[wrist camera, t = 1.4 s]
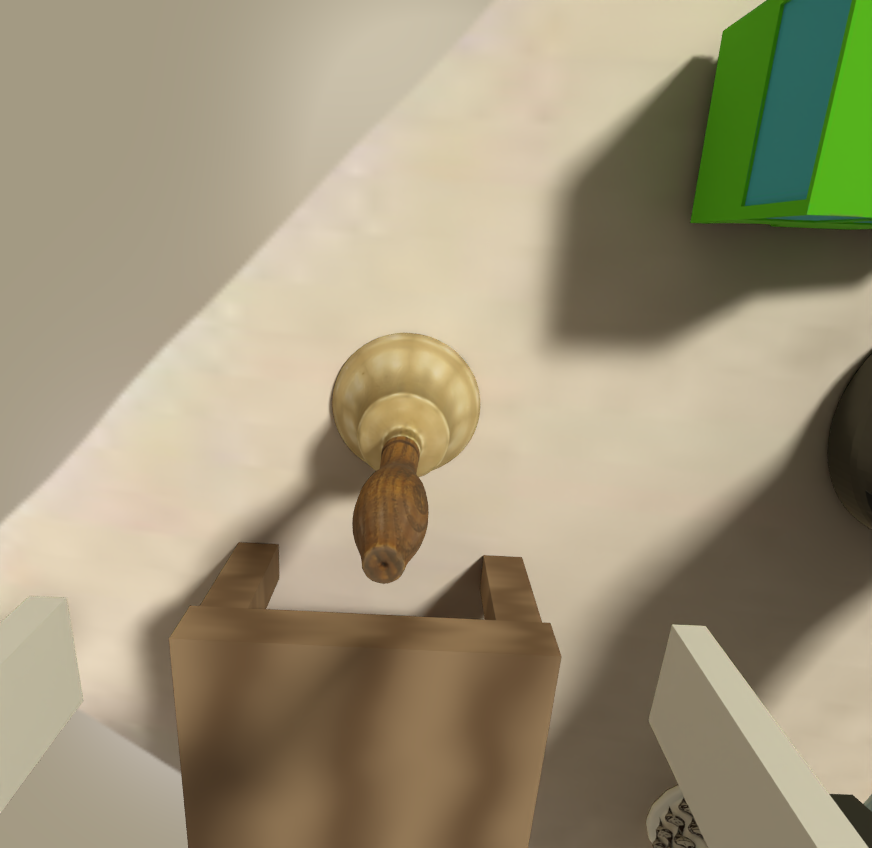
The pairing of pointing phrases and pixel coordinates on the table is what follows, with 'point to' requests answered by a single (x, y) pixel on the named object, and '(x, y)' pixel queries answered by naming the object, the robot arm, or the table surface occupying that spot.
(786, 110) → the toy car
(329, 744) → the walnut stool
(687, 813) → the decorative candle
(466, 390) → the hand bell
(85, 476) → the table surface
